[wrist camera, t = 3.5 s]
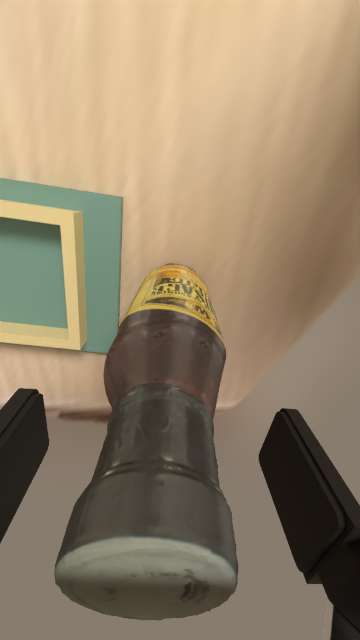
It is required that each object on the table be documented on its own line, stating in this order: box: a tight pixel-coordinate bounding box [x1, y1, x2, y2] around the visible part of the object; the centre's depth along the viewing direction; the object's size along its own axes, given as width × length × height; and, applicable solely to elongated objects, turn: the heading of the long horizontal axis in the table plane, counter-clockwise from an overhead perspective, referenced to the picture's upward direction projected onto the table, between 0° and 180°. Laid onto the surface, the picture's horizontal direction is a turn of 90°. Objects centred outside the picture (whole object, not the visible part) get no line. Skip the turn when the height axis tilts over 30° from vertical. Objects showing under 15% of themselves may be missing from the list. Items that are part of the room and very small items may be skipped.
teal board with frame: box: [0, 178, 123, 353], centre depth 20 cm, size 17×15×3 cm
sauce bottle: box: [54, 264, 238, 620], centre depth 14 cm, size 7×6×20 cm
